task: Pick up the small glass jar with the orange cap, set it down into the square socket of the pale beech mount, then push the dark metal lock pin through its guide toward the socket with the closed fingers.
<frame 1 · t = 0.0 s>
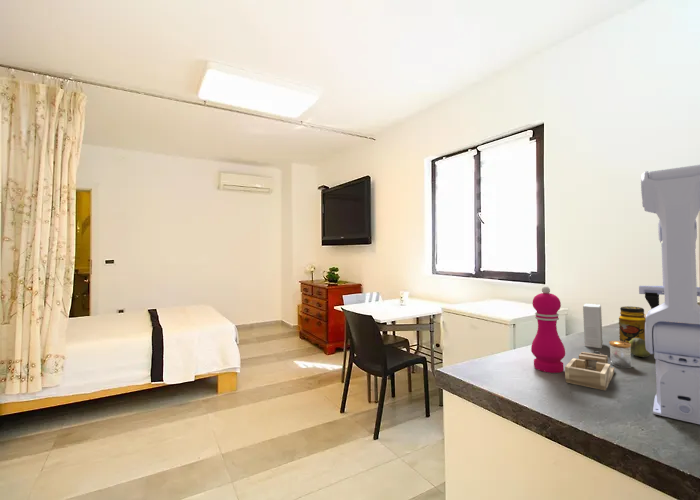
hand: (680, 326, 81), 10 cm above the counter, tool pointing down, fingers open, 7 cm apart
pepper mill: (548, 369, 84), on the counter
condiment: (632, 349, 98), on the counter
lime: (640, 357, 91), on the counter
small glass jar: (620, 365, 85), on the counter
mount: (591, 377, 77), on the counter
skincare box: (593, 345, 103), on the counter
lock pin: (595, 359, 82), point 2 cm above the counter, slide at 0.0 cm
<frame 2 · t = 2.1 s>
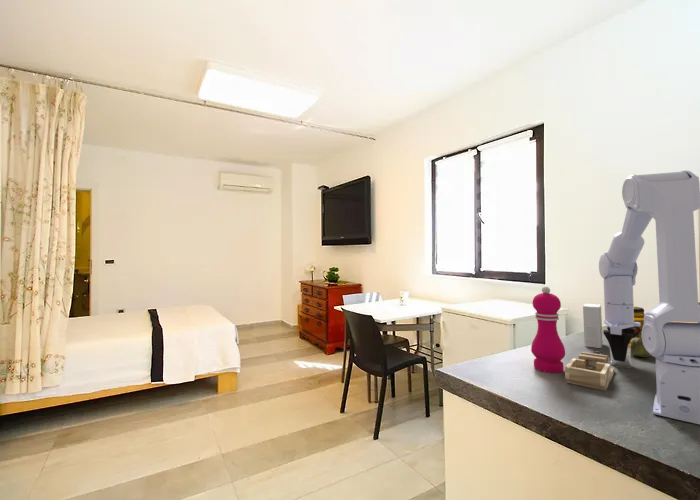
hand: (620, 358, 85), 2 cm above the counter, tool pointing down, fingers closed on small glass jar, 4 cm apart
small glass jar: (620, 365, 85), on the counter, touching gripper
everything else where it was.
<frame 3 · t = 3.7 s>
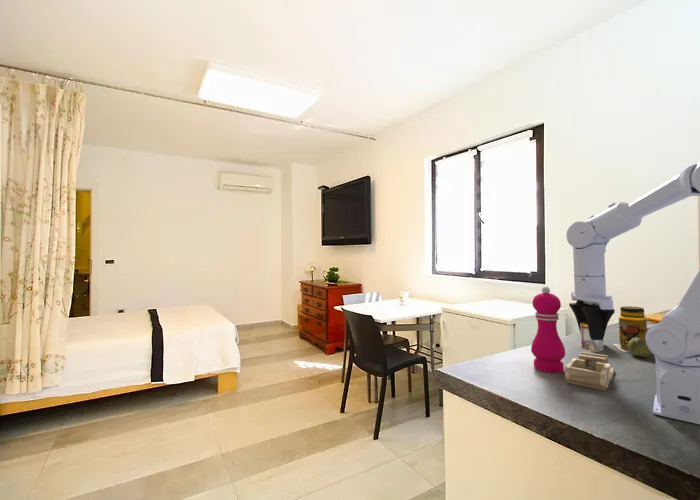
hand: (591, 337, 76), 9 cm above the counter, tool pointing down, fingers closed on small glass jar, 4 cm apart
small glass jar: (592, 348, 76), point 7 cm above the counter, touching gripper
everything else where it was.
when the fingers open (4 cm above the counter, at t = 5.3 s): small glass jar stays where it is, resting on mount.
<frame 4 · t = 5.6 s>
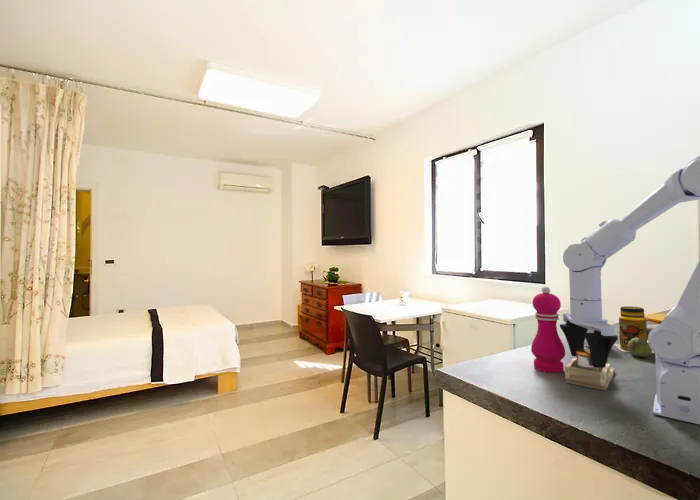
hand: (587, 361, 75), 4 cm above the counter, tool pointing down, fingers open, 7 cm apart
small glass jar: (588, 376, 75), point 1 cm above the counter, touching mount
everything else where it was.
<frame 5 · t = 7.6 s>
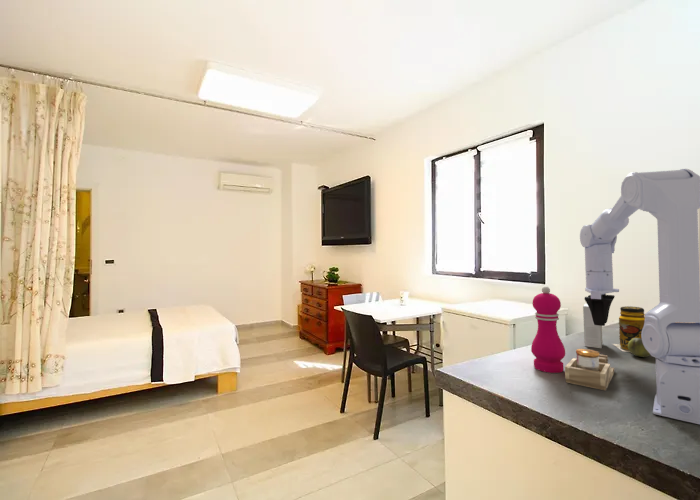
hand: (600, 323, 89), 9 cm above the counter, tool pointing down, fingers open, 4 cm apart
nothing on the counter moved.
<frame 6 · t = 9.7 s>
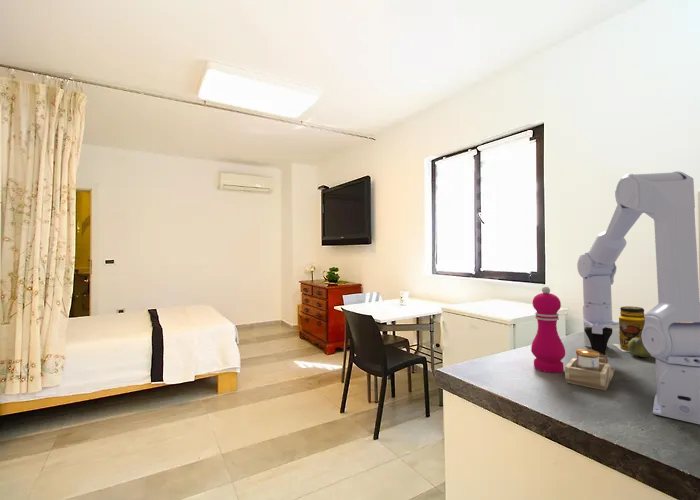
hand: (599, 357, 86), 2 cm above the counter, tool pointing down, fingers closed
lock pin: (595, 359, 82), point 2 cm above the counter, slide at 0.0 cm, touching gripper
everything else where it was.
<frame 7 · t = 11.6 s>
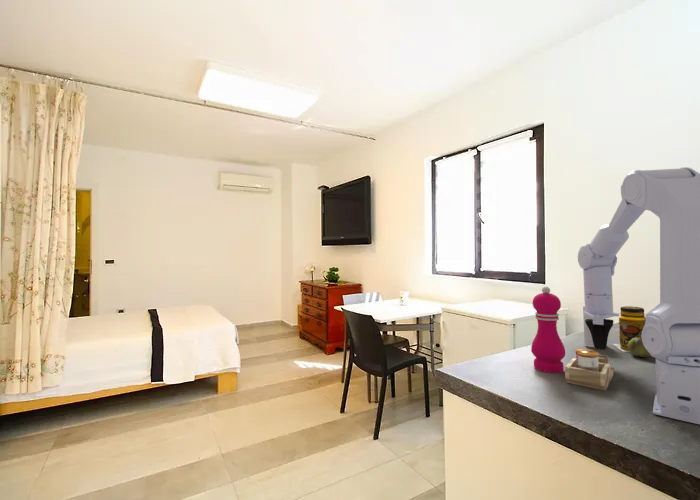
hand: (600, 349, 85), 4 cm above the counter, tool pointing down, fingers closed
lock pin: (592, 363, 80), point 2 cm above the counter, slide at 3.2 cm
everything else where it was.
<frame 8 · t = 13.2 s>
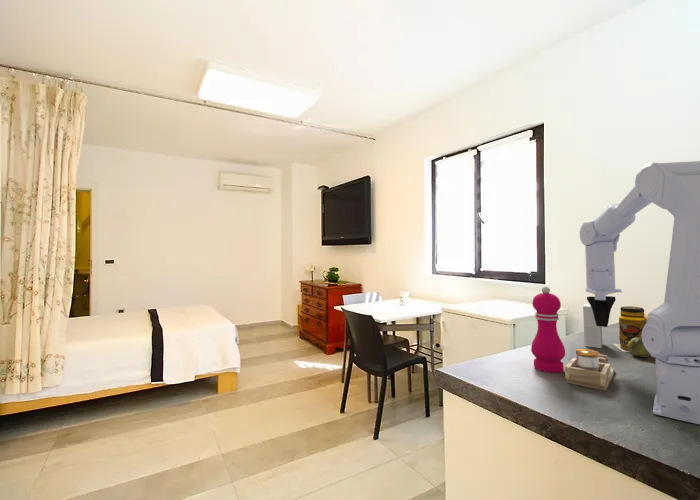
hand: (601, 326, 84), 10 cm above the counter, tool pointing down, fingers closed
nothing on the counter moved.
at the end: small glass jar 0.1 cm from the target spot on the mount, point 1.0 cm above the mount's base; small glass jar tilted 1°; lock pin slide at 3.2 cm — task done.
